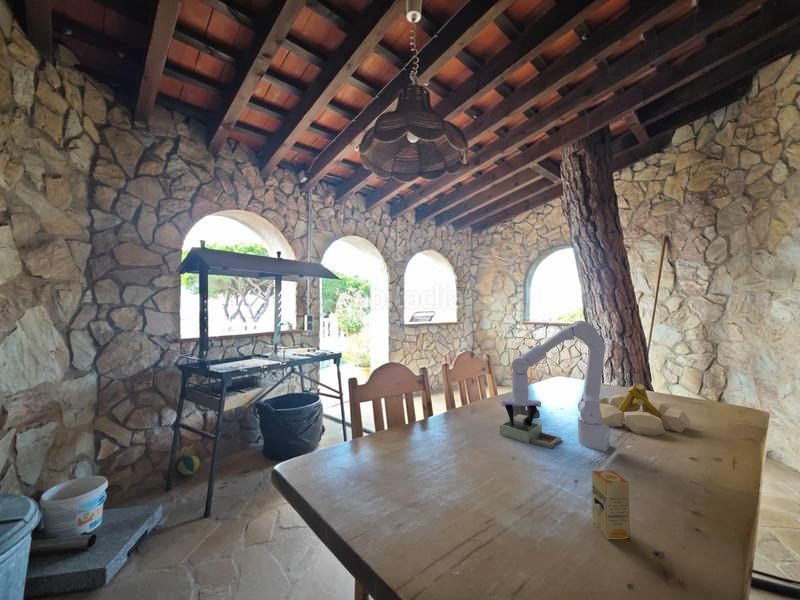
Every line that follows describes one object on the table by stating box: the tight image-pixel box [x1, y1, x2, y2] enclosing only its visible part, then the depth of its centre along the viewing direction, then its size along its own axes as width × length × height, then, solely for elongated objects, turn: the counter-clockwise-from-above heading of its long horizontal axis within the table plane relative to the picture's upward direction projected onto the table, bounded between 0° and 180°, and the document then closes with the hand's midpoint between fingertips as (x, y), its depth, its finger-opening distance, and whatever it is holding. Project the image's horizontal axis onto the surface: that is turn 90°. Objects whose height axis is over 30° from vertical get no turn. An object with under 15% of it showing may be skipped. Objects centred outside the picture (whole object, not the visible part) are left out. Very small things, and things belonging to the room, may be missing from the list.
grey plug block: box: [513, 414, 528, 432], centre depth 124 cm, size 4×5×7 cm
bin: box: [499, 419, 543, 444], centre depth 125 cm, size 11×11×5 cm
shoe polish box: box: [591, 470, 631, 539], centre depth 72 cm, size 5×5×12 cm
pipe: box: [512, 406, 541, 420], centre depth 144 cm, size 6×13×8 cm, turn 89°
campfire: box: [599, 382, 691, 437], centre depth 141 cm, size 35×34×17 cm
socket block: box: [528, 431, 563, 450], centre depth 118 cm, size 10×10×2 cm
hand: (520, 425), depth 125 cm, fingers closed on grey plug block, 6 cm apart
